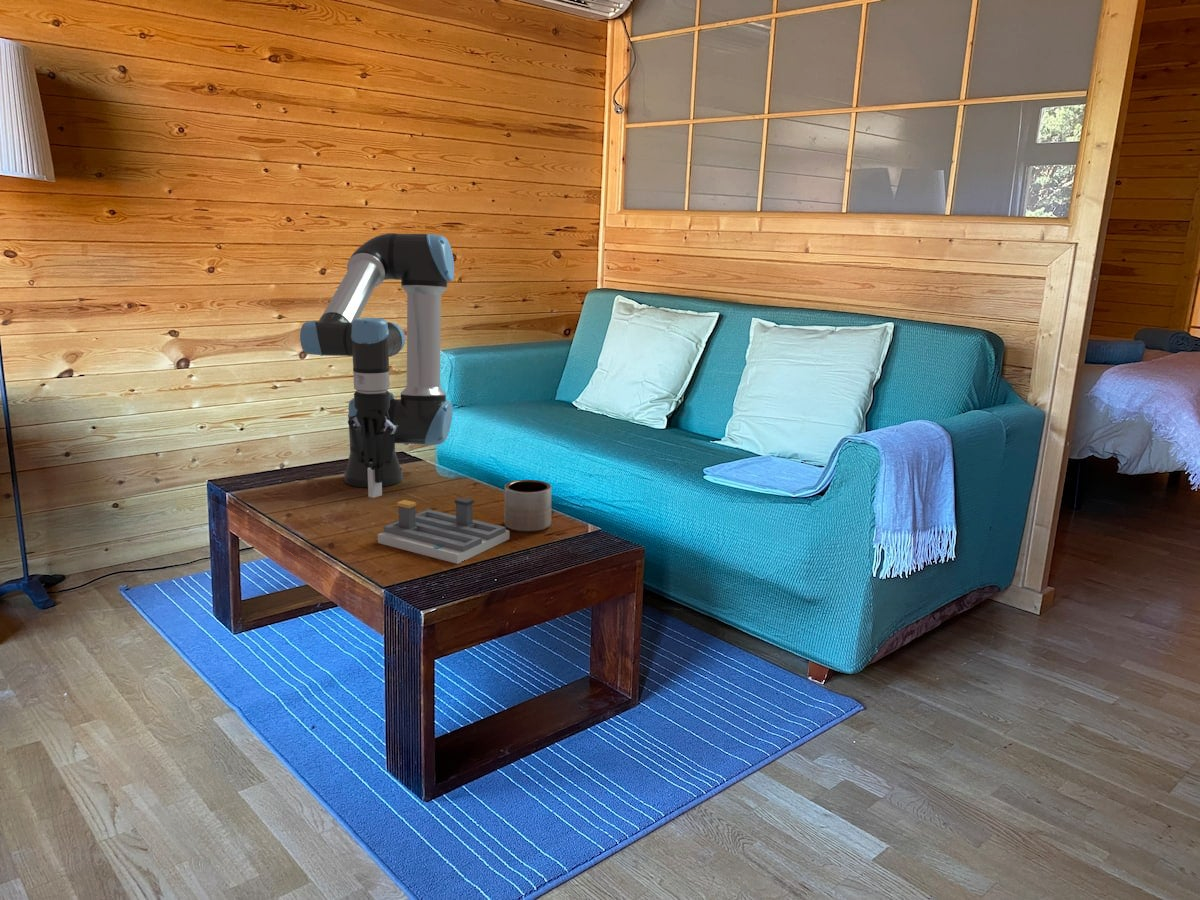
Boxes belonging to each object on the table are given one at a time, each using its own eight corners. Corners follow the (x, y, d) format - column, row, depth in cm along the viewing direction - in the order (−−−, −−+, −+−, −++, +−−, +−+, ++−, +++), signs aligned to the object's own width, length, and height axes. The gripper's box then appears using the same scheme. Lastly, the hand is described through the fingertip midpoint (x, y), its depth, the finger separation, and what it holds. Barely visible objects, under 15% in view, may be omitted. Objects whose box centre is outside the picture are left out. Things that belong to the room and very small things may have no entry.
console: (432, 520, 211) (432, 507, 210) (509, 539, 201) (509, 525, 200) (377, 542, 196) (377, 528, 195) (457, 563, 185) (457, 549, 185)
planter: (521, 515, 217) (521, 476, 215) (559, 523, 212) (560, 483, 210) (495, 527, 208) (494, 487, 205) (535, 536, 203) (535, 495, 200)
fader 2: (460, 524, 203) (460, 497, 201) (474, 527, 201) (474, 500, 199) (453, 526, 201) (453, 499, 199) (468, 530, 199) (467, 502, 197)
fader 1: (404, 526, 200) (403, 499, 198) (418, 530, 198) (417, 502, 196) (396, 529, 198) (395, 502, 196) (410, 533, 196) (409, 505, 194)
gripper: (336, 389, 195) (341, 495, 200) (382, 396, 188) (385, 504, 194) (362, 385, 201) (365, 487, 207) (406, 391, 195) (409, 496, 200)
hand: (375, 495), depth 200 cm, fingers closed
